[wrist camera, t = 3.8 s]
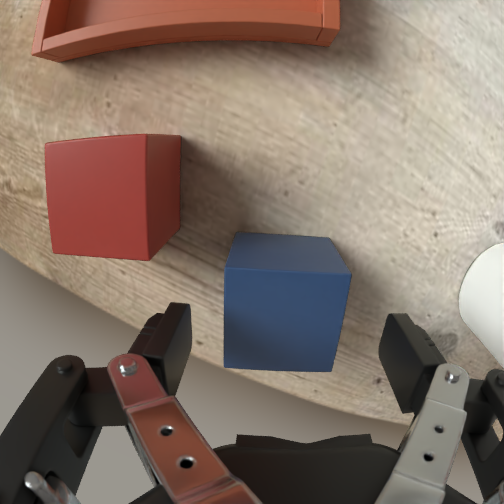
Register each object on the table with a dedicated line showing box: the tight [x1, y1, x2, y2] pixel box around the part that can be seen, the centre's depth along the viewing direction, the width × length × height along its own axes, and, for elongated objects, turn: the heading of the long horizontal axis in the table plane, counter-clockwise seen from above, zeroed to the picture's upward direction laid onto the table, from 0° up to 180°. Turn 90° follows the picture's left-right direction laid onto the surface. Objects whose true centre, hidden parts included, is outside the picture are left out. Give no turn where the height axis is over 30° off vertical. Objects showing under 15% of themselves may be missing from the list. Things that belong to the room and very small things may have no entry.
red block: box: [45, 134, 181, 261], centre depth 14 cm, size 5×5×5 cm
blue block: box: [224, 232, 352, 372], centre depth 15 cm, size 5×5×5 cm
